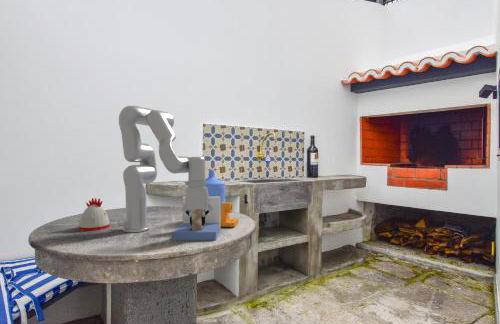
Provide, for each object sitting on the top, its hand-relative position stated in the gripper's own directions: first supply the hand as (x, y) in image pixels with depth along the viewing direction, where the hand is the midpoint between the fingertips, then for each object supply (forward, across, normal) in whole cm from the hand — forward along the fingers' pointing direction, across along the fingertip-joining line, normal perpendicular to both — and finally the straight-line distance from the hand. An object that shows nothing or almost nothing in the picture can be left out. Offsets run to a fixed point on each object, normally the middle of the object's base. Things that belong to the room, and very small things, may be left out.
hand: (197, 224), depth 137 cm
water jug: (+5, +2, +36) cm, 37 cm away
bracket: (+5, +13, +21) cm, 25 cm away
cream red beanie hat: (+5, -55, +18) cm, 58 cm away
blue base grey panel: (+5, 0, +3) cm, 6 cm away
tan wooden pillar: (+2, 0, 0) cm, 2 cm away
